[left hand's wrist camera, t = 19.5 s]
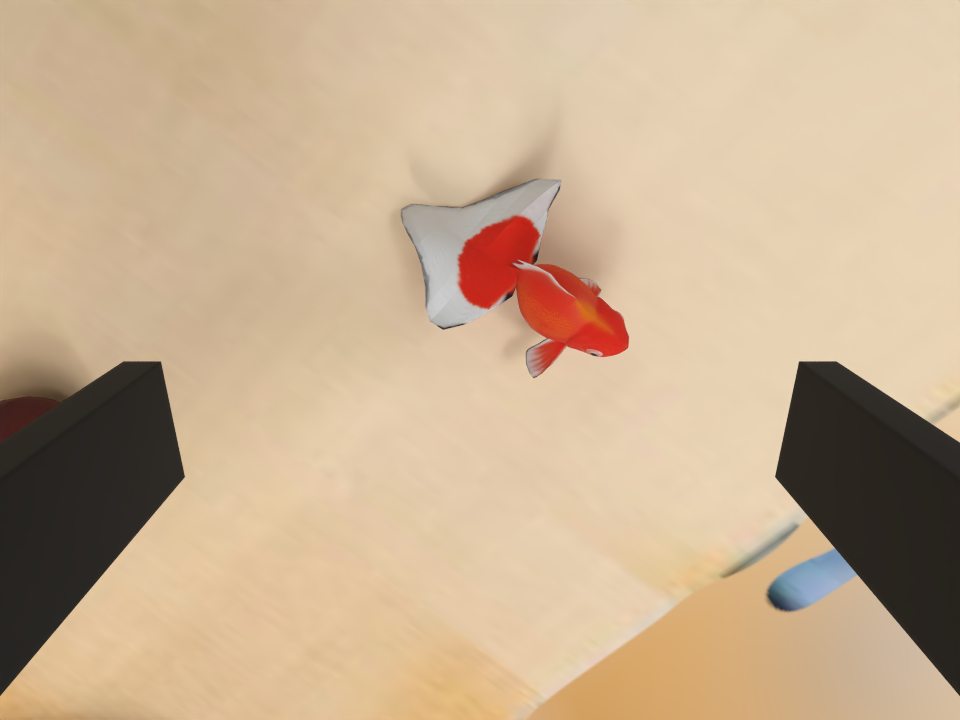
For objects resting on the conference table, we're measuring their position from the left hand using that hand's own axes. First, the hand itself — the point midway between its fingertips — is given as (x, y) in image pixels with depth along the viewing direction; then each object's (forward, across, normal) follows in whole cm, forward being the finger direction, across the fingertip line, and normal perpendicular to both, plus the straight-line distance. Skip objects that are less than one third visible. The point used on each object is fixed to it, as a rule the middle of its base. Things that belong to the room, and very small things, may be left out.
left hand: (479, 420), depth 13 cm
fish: (+29, +2, -3) cm, 29 cm away
